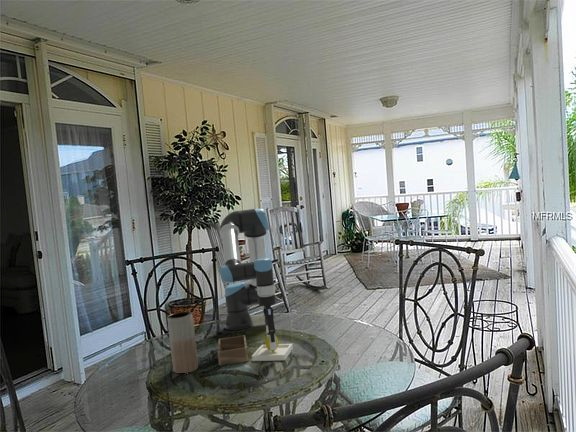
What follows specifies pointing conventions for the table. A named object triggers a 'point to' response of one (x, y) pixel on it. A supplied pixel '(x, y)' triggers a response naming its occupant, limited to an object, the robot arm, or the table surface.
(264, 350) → the plate
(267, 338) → the fruit
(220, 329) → the table surface
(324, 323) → the table surface
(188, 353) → the planter
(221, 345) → the open wooden box frame
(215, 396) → the table surface
